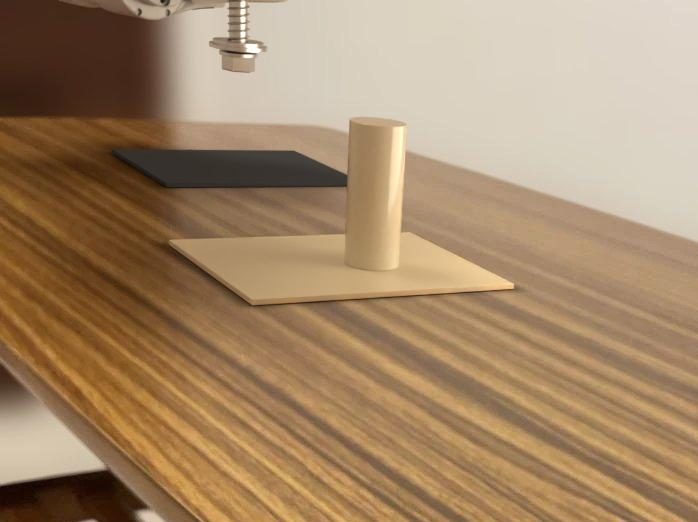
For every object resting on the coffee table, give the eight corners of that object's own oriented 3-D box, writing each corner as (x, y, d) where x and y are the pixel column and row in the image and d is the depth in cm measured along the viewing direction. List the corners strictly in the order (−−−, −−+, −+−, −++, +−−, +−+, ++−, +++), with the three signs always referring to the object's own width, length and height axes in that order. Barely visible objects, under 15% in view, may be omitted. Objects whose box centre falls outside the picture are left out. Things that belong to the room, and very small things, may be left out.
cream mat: (251, 305, 79) (251, 299, 79) (168, 244, 90) (168, 239, 90) (513, 289, 90) (514, 283, 89) (409, 236, 101) (409, 231, 101)
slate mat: (166, 187, 108) (166, 182, 108) (111, 153, 120) (111, 149, 120) (361, 185, 119) (361, 181, 118) (294, 154, 130) (294, 150, 130)
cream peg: (359, 272, 88) (365, 126, 83) (334, 258, 91) (339, 116, 86) (408, 269, 90) (417, 127, 86) (383, 255, 93) (390, 117, 88)
